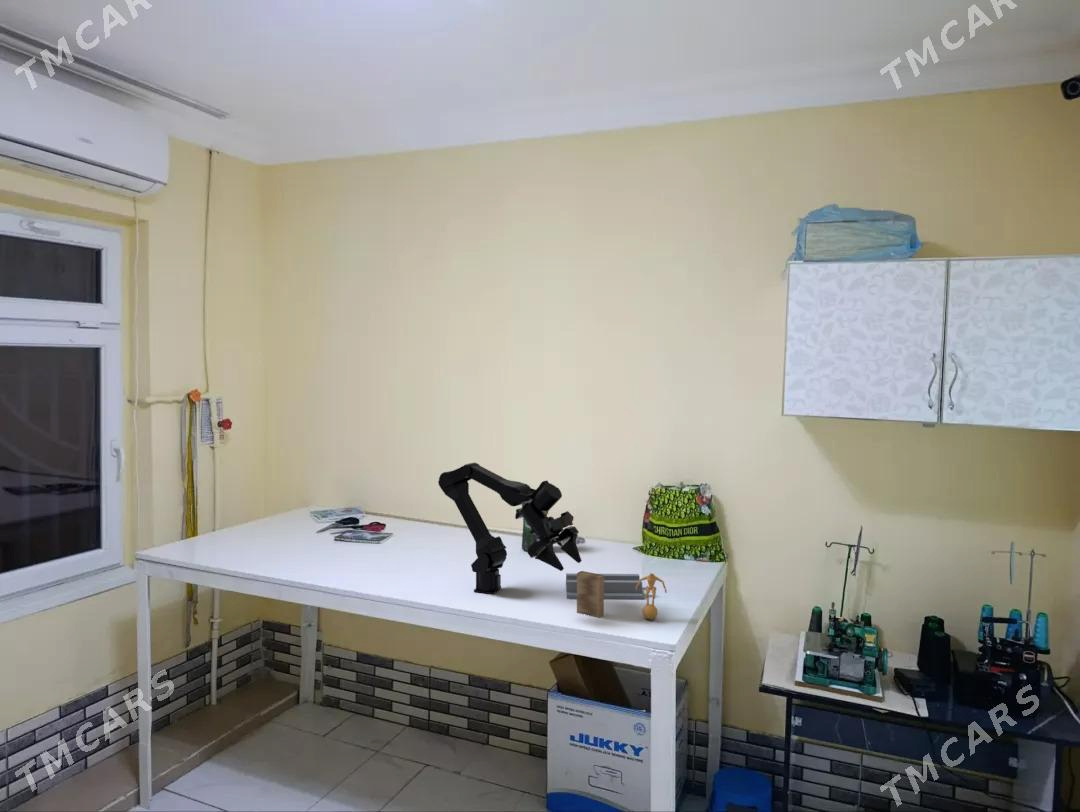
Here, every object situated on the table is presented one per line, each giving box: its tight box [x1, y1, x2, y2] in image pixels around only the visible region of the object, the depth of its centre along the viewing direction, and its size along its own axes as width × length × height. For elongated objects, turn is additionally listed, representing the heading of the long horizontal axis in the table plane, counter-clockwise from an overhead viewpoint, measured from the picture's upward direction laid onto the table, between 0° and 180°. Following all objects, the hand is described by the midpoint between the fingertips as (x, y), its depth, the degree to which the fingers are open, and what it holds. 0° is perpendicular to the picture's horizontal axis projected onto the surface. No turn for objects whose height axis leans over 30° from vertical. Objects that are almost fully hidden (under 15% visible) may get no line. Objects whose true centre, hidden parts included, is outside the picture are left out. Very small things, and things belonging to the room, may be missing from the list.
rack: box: [565, 572, 644, 600], centre depth 214 cm, size 22×14×4 cm, turn 89°
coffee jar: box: [521, 500, 549, 552], centre depth 260 cm, size 10×8×19 cm
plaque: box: [576, 570, 605, 619], centre depth 194 cm, size 7×2×11 cm, turn 56°
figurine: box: [635, 572, 667, 621], centre depth 191 cm, size 8×6×12 cm
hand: (571, 565), depth 197 cm, fingers open, 9 cm apart
